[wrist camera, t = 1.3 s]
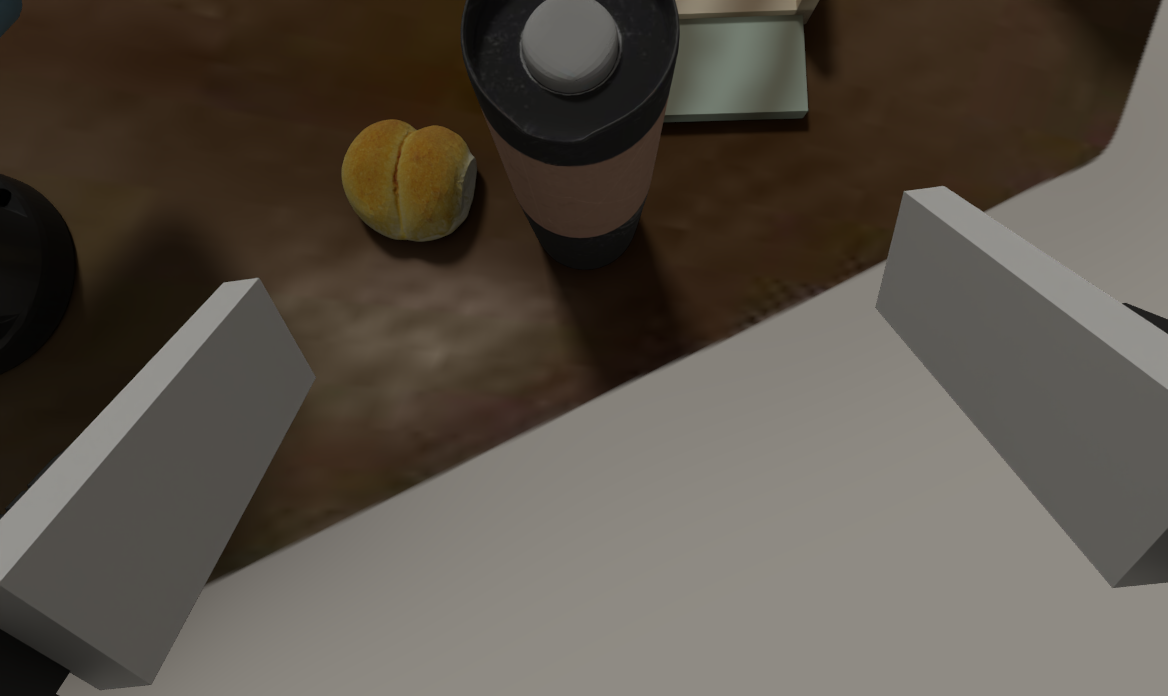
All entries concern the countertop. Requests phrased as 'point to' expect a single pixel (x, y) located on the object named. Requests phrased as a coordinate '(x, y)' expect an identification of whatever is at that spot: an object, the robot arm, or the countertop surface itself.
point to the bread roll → (409, 180)
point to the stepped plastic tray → (740, 60)
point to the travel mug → (575, 111)
